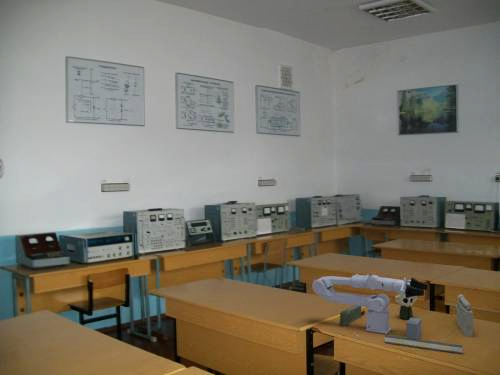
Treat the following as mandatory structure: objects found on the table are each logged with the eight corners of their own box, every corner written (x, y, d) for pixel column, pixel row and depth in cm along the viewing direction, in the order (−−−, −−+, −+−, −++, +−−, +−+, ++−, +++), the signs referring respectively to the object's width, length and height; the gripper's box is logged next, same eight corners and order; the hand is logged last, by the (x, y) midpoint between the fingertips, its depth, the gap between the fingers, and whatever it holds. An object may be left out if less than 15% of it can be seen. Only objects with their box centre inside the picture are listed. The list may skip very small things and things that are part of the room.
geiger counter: (476, 305, 223) (464, 291, 248) (460, 304, 224) (450, 291, 249) (475, 337, 224) (463, 320, 248) (459, 336, 225) (449, 320, 249)
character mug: (398, 320, 249) (398, 293, 249) (392, 316, 256) (392, 290, 256) (420, 319, 250) (420, 292, 250) (413, 315, 258) (413, 289, 257)
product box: (406, 339, 222) (406, 322, 222) (410, 333, 230) (410, 317, 230) (417, 340, 220) (417, 324, 220) (421, 334, 228) (421, 318, 228)
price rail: (384, 343, 217) (384, 336, 217) (386, 341, 219) (385, 334, 219) (462, 354, 203) (462, 346, 202) (462, 352, 204) (462, 345, 204)
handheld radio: (338, 326, 242) (360, 313, 263) (345, 327, 240) (366, 315, 261) (338, 312, 242) (361, 300, 262) (345, 313, 240) (367, 301, 260)
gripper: (389, 281, 224) (422, 286, 217) (398, 271, 236) (429, 276, 229) (389, 297, 225) (422, 302, 218) (397, 286, 237) (428, 291, 231)
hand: (425, 290), depth 224 cm, fingers open, 7 cm apart
